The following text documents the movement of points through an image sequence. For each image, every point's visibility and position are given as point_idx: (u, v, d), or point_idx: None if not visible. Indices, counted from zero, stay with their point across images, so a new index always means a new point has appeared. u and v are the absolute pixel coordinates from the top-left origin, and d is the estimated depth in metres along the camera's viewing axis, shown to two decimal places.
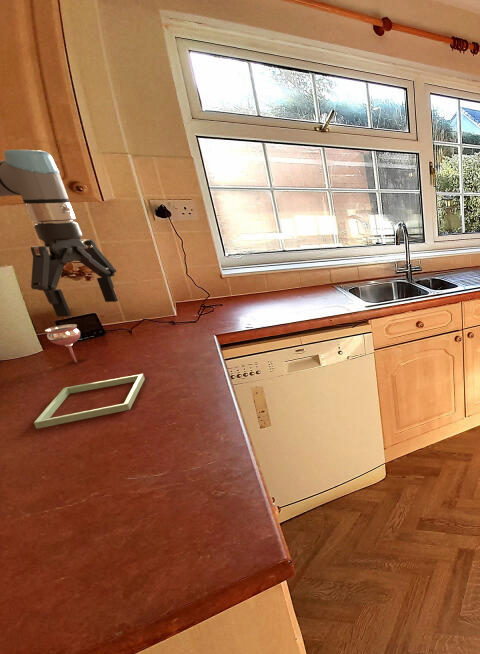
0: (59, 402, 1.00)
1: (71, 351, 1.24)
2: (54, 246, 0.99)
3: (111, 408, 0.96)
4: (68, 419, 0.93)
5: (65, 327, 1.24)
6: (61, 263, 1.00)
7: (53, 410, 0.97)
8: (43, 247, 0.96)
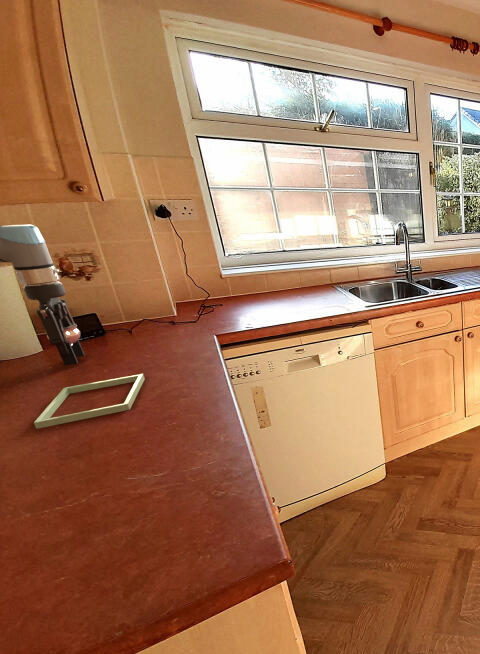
0: (59, 402, 1.00)
1: None
2: (50, 303, 1.16)
3: (111, 408, 0.96)
4: (68, 419, 0.93)
5: None
6: (60, 319, 1.19)
7: (53, 410, 0.97)
8: (49, 310, 1.14)
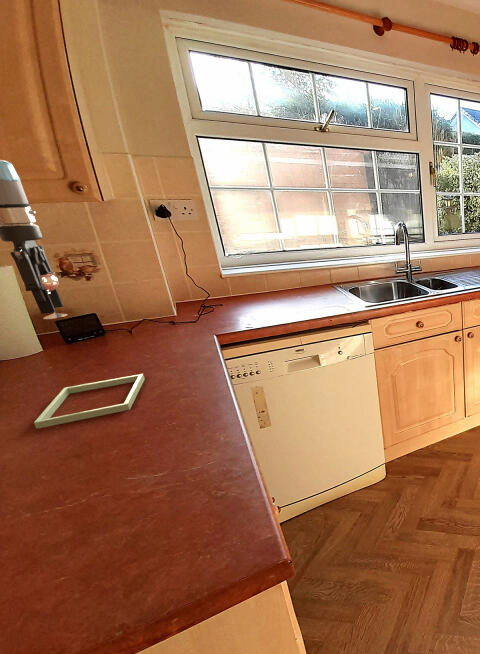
0: (59, 402, 1.00)
1: None
2: (25, 246, 1.10)
3: (111, 408, 0.96)
4: (68, 419, 0.93)
5: None
6: (36, 263, 1.12)
7: (53, 410, 0.97)
8: (24, 252, 1.08)
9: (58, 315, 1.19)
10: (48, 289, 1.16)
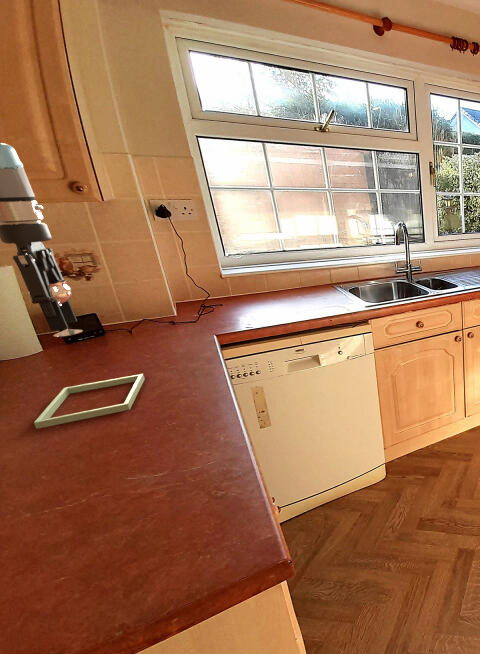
0: (59, 402, 1.00)
1: None
2: (31, 249, 0.90)
3: (111, 408, 0.96)
4: (68, 419, 0.93)
5: None
6: (44, 270, 0.92)
7: (53, 410, 0.97)
8: (30, 256, 0.88)
9: (71, 331, 0.99)
10: (59, 300, 0.95)
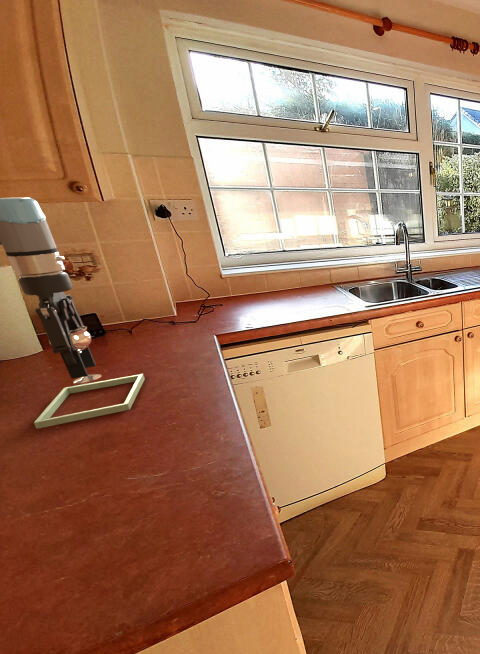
0: (59, 402, 1.00)
1: None
2: (53, 300, 0.90)
3: (111, 408, 0.96)
4: (68, 419, 0.93)
5: (72, 330, 0.98)
6: (65, 320, 0.93)
7: (53, 410, 0.97)
8: (52, 308, 0.89)
9: (91, 377, 0.99)
10: (79, 348, 0.96)
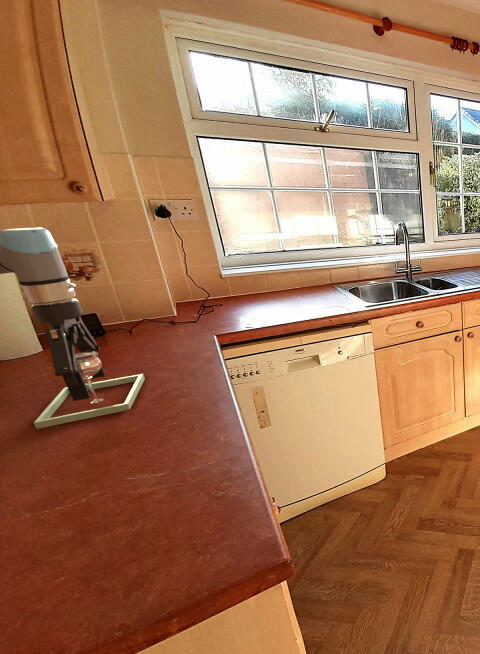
0: (59, 402, 1.00)
1: (90, 385, 1.00)
2: (64, 327, 0.92)
3: (111, 408, 0.96)
4: (68, 419, 0.93)
5: (83, 355, 1.01)
6: (73, 343, 0.94)
7: (53, 410, 0.97)
8: (61, 329, 0.90)
9: None
10: (90, 374, 0.98)
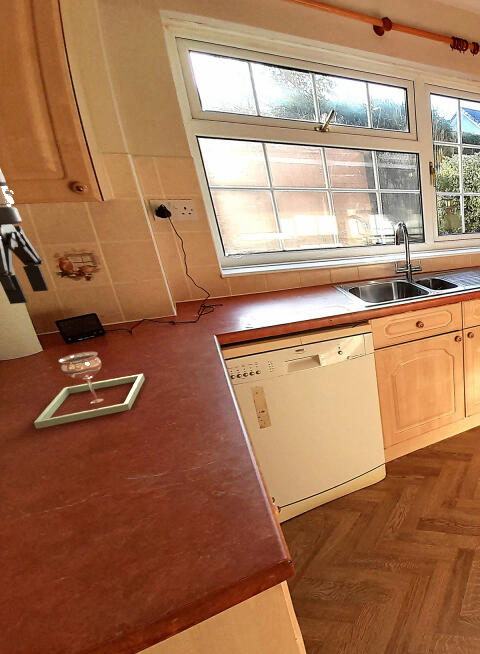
0: (59, 402, 1.00)
1: (90, 385, 1.00)
2: (1, 231, 0.96)
3: (111, 408, 0.96)
4: (68, 419, 0.93)
5: (83, 355, 1.01)
6: (10, 248, 0.98)
7: (53, 410, 0.97)
8: None
9: None
10: (90, 374, 0.98)
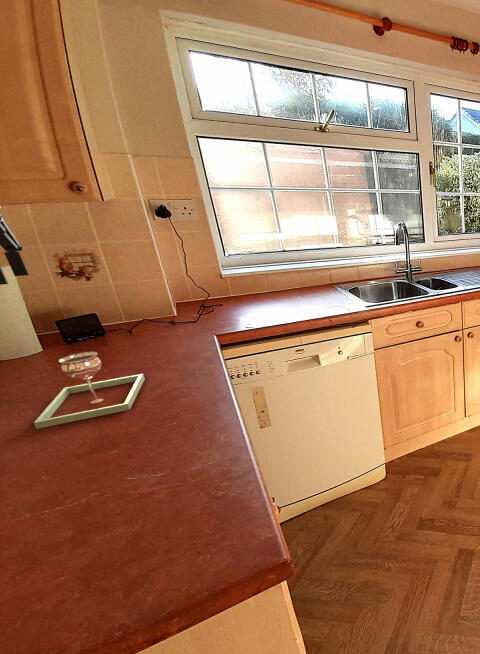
0: (59, 402, 1.00)
1: (90, 385, 1.00)
2: None
3: (111, 408, 0.96)
4: (68, 419, 0.93)
5: (83, 355, 1.01)
6: None
7: (53, 410, 0.97)
8: None
9: None
10: (90, 374, 0.98)
